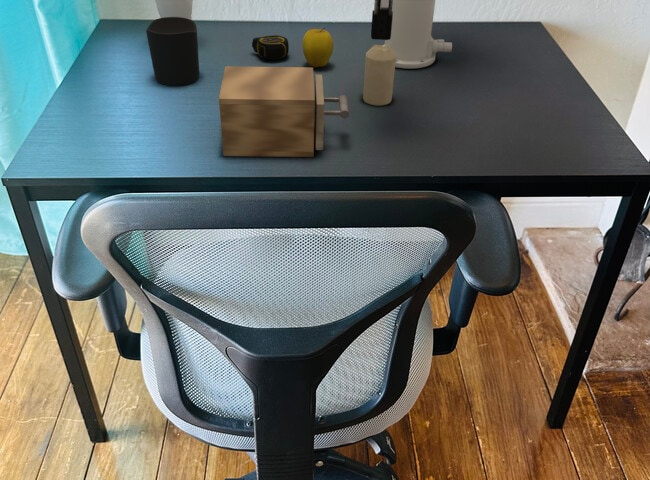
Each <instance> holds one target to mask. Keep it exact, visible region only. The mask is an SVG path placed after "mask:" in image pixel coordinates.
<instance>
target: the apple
mask: <svg viewBox="0 0 650 480" xmlns="http://www.w3.org/2000/svg"><path fill="white" fill-rule="evenodd" d="M325 29H326V27H323V28H321V29H320V28H319V29H318V28H311V29H309V30H307V31H306V32H305V34H304V35H303V38H302V52H303V55H304V58H305V60H306V62H307V64H308V66H310V67H312V68H323V67H325V66H326V65H327V64H328V63H329V61H330V59H331V57H332V55H333V51H334V40H333V37H332V35H331V33H330V32H329V31H327V30H325Z"/></svg>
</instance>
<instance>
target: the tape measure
mask: <svg viewBox="0 0 650 480" xmlns="http://www.w3.org/2000/svg"><path fill="white" fill-rule="evenodd" d="M251 47H252V49H253V51H254V53H256V54H257V55H258V56H259V57H260V58H263V59H265V60H272V61H273V60H280V59H283V58H286V57H287V56H288V55H289V52H290V51H289V50H290V45H289V39H288V38H287V37H285V36H283V35H278V34H277V35H275V34H274V35H265V36H260V37H259V36H257V37H253V39H252V41H251Z"/></svg>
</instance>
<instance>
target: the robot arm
mask: <svg viewBox="0 0 650 480" xmlns="http://www.w3.org/2000/svg"><path fill="white" fill-rule="evenodd" d="M373 4H374V5H373V9H372V13H371V14H372V15H371V26H370V27H371V28H370V38H371V39H372V40H380V41H381V40H382V41H384V44H381V45H382V46H385V47H390V48H391V49H392V50H393V51H394V53H395V54H396V62H395V68H398V69H407V70H409V69H411V70H413V69H415V70H416V69H421V68H426V67H429V66H431V65H432V64H433V63H435V61H436V54H437V52H442V53H452V51H453V43H452V42H451V41H450V42H447V41H446V42H445V39H442V38H441V39H440V38H439V39H434V38H433V35H432V29H433V23H434V16H435V15H434V14H435V7H436V0H374V3H373Z"/></svg>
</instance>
